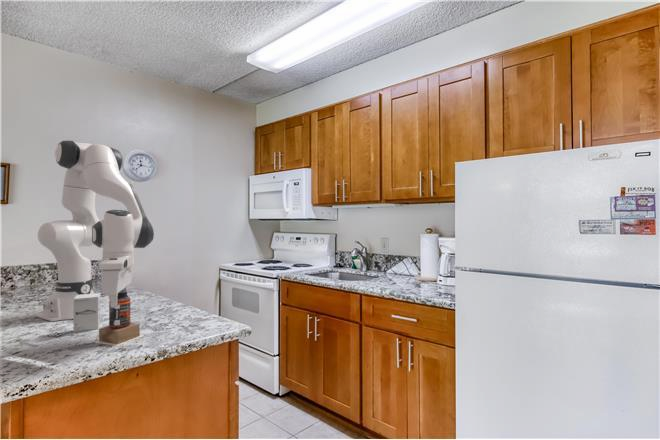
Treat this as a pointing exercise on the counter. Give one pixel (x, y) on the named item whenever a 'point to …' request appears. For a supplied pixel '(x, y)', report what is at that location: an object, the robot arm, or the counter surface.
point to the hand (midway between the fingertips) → (118, 303)
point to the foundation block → (119, 333)
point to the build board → (118, 344)
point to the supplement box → (86, 312)
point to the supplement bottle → (120, 311)
